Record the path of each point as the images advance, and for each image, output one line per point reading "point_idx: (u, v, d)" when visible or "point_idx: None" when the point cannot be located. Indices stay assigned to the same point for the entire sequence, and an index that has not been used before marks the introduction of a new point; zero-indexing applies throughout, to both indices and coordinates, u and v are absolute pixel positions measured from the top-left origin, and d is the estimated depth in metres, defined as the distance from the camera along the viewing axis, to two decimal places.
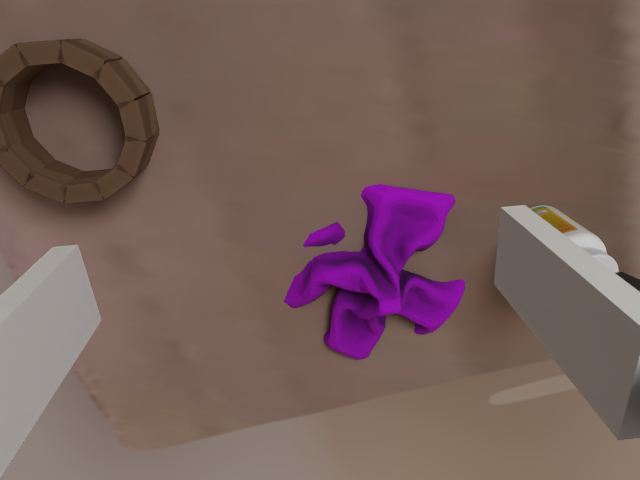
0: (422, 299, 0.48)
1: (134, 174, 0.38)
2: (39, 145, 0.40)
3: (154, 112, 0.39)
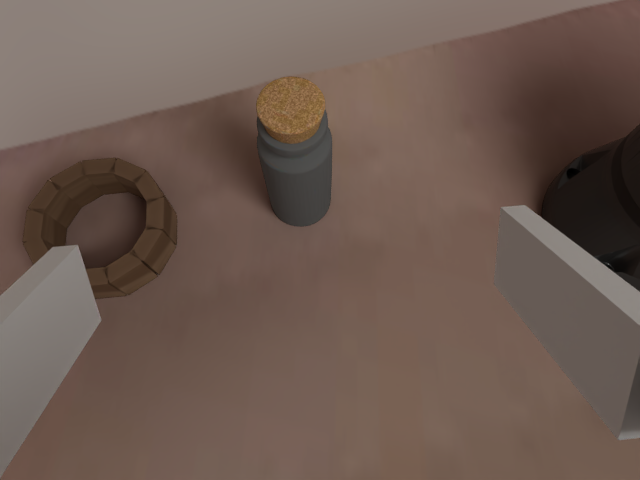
0: None
1: None
2: (95, 197, 0.46)
3: (108, 296, 0.43)
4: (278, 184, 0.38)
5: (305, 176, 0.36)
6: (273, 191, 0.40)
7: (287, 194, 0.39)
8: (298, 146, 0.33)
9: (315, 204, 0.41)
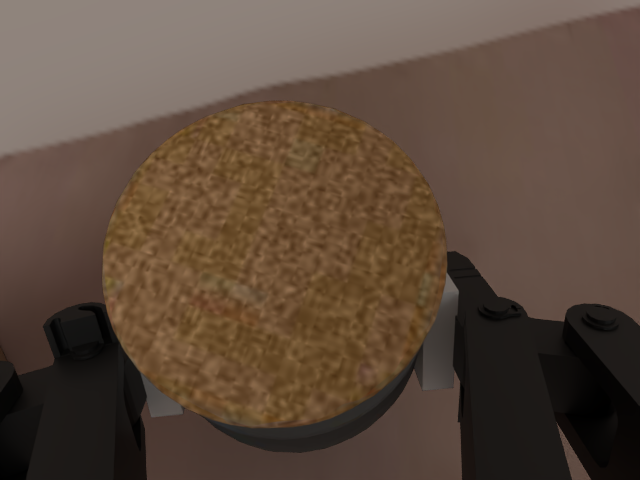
0: None
1: None
2: None
3: None
4: None
5: None
6: None
7: None
8: None
9: None
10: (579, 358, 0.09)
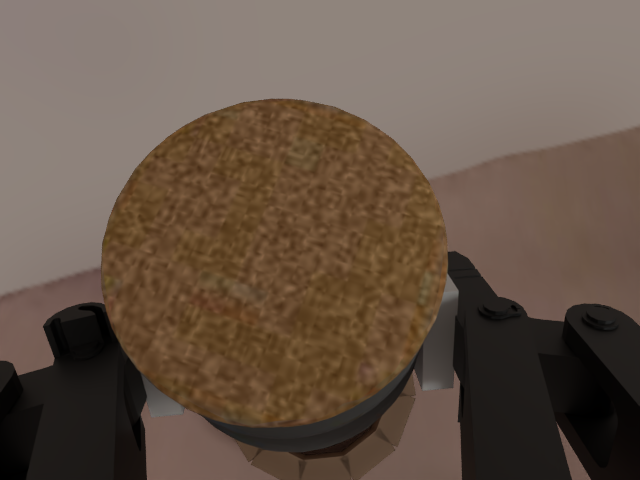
0: None
1: (254, 464, 0.28)
2: None
3: None
4: None
5: None
6: None
7: None
8: None
9: None
10: (579, 358, 0.09)
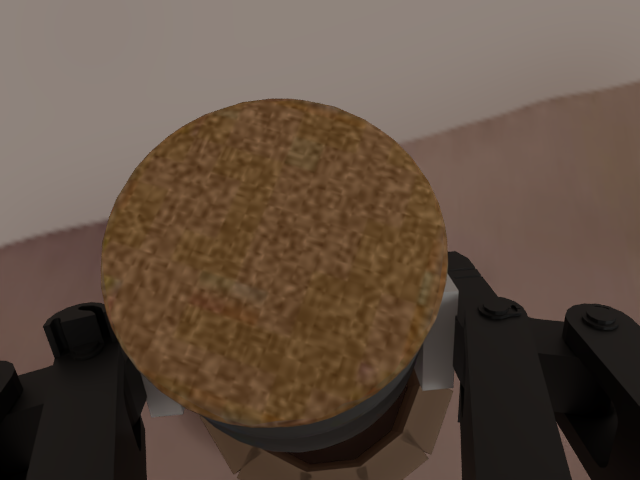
0: None
1: (241, 478, 0.21)
2: None
3: None
4: None
5: None
6: None
7: None
8: None
9: None
10: (579, 358, 0.09)
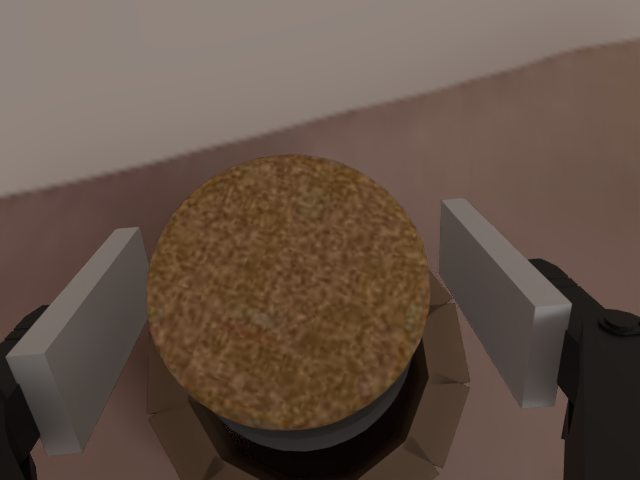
0: None
1: None
2: None
3: None
4: None
5: None
6: None
7: None
8: None
9: None
10: None
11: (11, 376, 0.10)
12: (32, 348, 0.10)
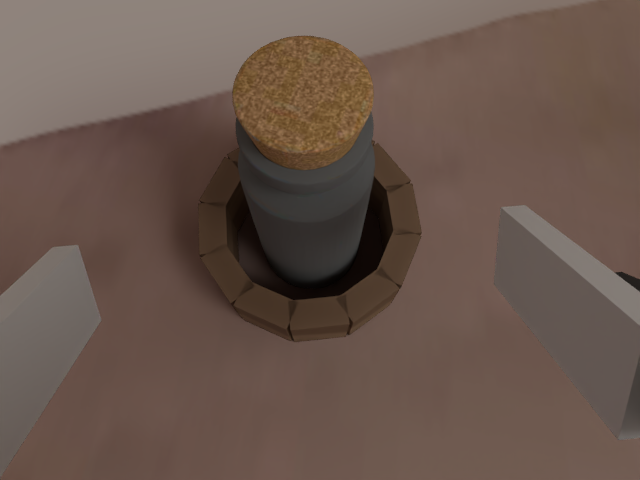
0: None
1: (237, 305, 0.24)
2: None
3: (320, 338, 0.27)
4: (277, 236, 0.21)
5: (327, 226, 0.20)
6: (268, 243, 0.23)
7: (292, 250, 0.22)
8: (318, 175, 0.17)
9: (338, 261, 0.25)
10: None
11: None
12: None
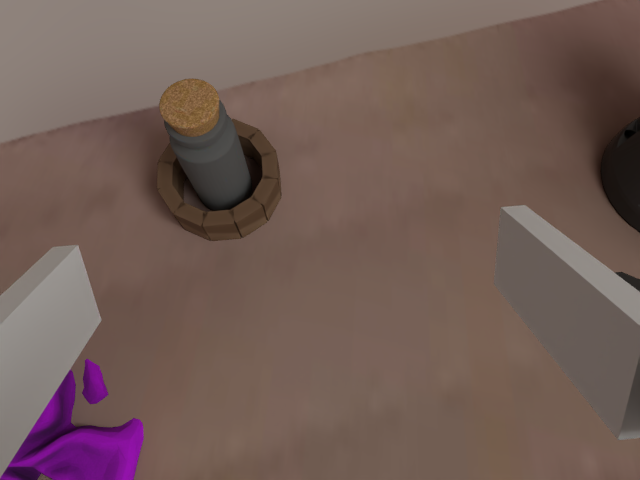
0: None
1: (175, 214, 0.46)
2: None
3: (226, 238, 0.49)
4: (191, 173, 0.43)
5: (211, 165, 0.41)
6: (190, 180, 0.45)
7: (200, 182, 0.44)
8: (198, 139, 0.38)
9: (230, 192, 0.46)
10: None
11: None
12: None
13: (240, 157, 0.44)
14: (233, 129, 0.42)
